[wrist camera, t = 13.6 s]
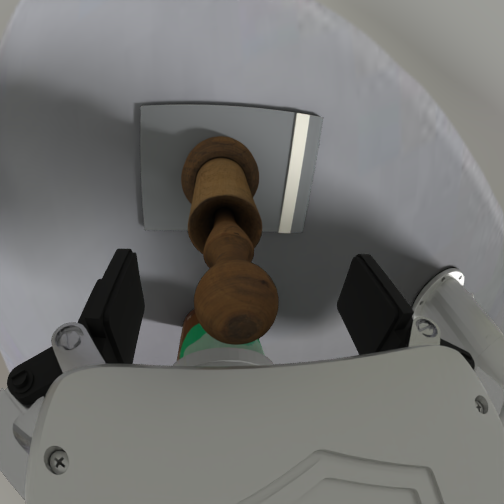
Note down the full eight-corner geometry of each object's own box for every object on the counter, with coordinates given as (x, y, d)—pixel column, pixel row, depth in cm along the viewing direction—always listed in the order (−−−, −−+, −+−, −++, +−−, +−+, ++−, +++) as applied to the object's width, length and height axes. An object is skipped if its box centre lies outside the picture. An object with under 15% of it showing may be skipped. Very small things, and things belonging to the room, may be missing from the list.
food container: (272, 296, 34) (293, 362, 25) (262, 329, 37) (277, 391, 29) (171, 291, 31) (164, 361, 23) (171, 326, 34) (168, 392, 26)
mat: (320, 116, 23) (324, 117, 22) (300, 229, 29) (302, 233, 28) (142, 105, 20) (140, 106, 19) (146, 226, 26) (144, 231, 25)
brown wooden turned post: (179, 140, 21) (110, 255, 6) (254, 133, 22) (353, 229, 7) (188, 209, 25) (169, 387, 10) (256, 203, 26) (321, 368, 11)
